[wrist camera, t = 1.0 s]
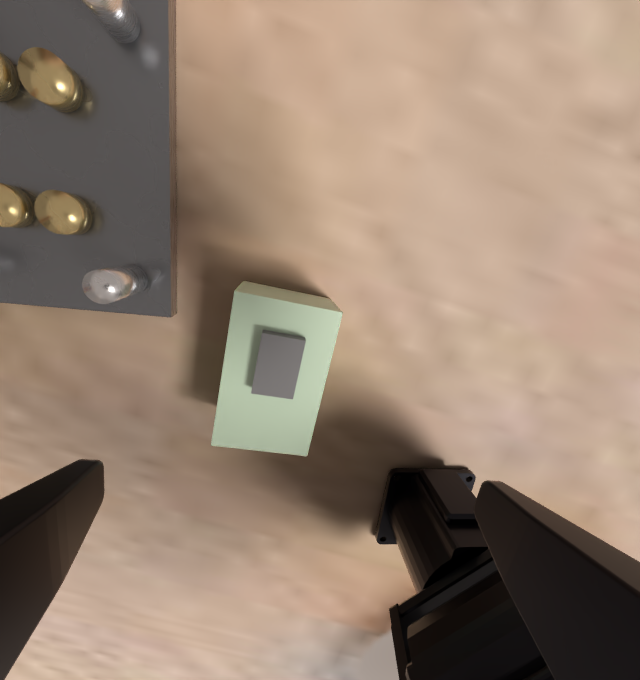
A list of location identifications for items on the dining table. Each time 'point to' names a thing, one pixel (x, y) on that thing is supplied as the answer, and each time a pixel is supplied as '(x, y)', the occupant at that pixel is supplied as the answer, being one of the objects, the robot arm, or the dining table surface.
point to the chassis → (88, 155)
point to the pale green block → (274, 369)
